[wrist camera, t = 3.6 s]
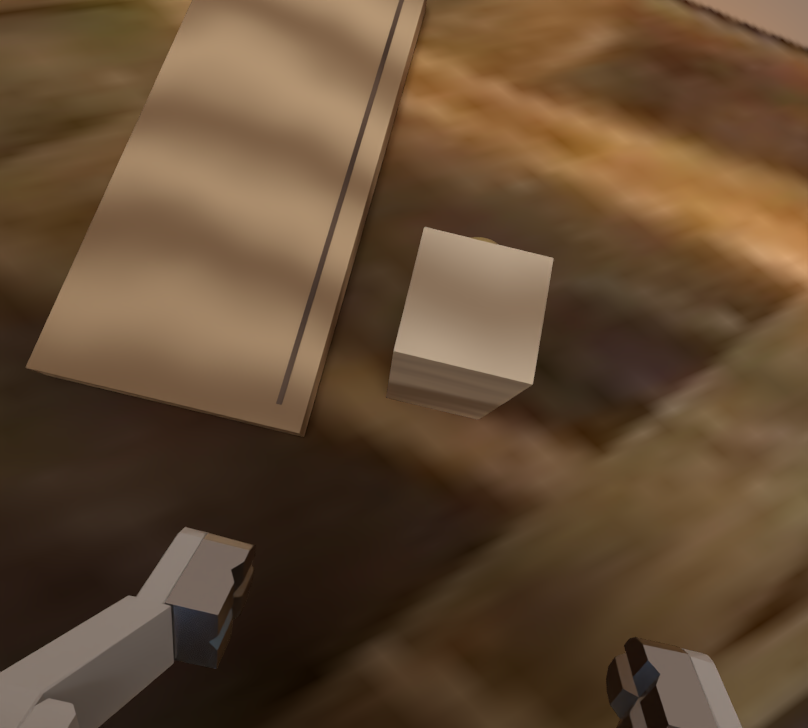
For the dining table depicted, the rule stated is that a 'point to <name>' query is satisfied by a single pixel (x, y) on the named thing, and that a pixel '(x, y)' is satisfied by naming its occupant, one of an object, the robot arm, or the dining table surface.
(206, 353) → the oak board
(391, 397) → the beige rectangular block
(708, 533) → the dining table surface
